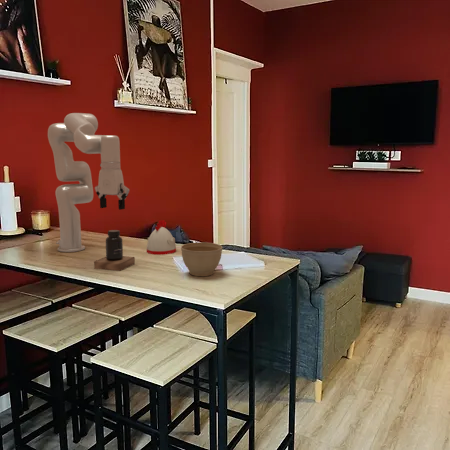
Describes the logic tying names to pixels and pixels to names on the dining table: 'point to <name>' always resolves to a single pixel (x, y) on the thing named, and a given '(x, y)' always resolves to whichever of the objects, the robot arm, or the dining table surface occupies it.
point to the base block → (114, 263)
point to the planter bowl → (201, 257)
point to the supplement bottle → (114, 246)
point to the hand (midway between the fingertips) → (112, 208)
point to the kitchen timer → (161, 241)
